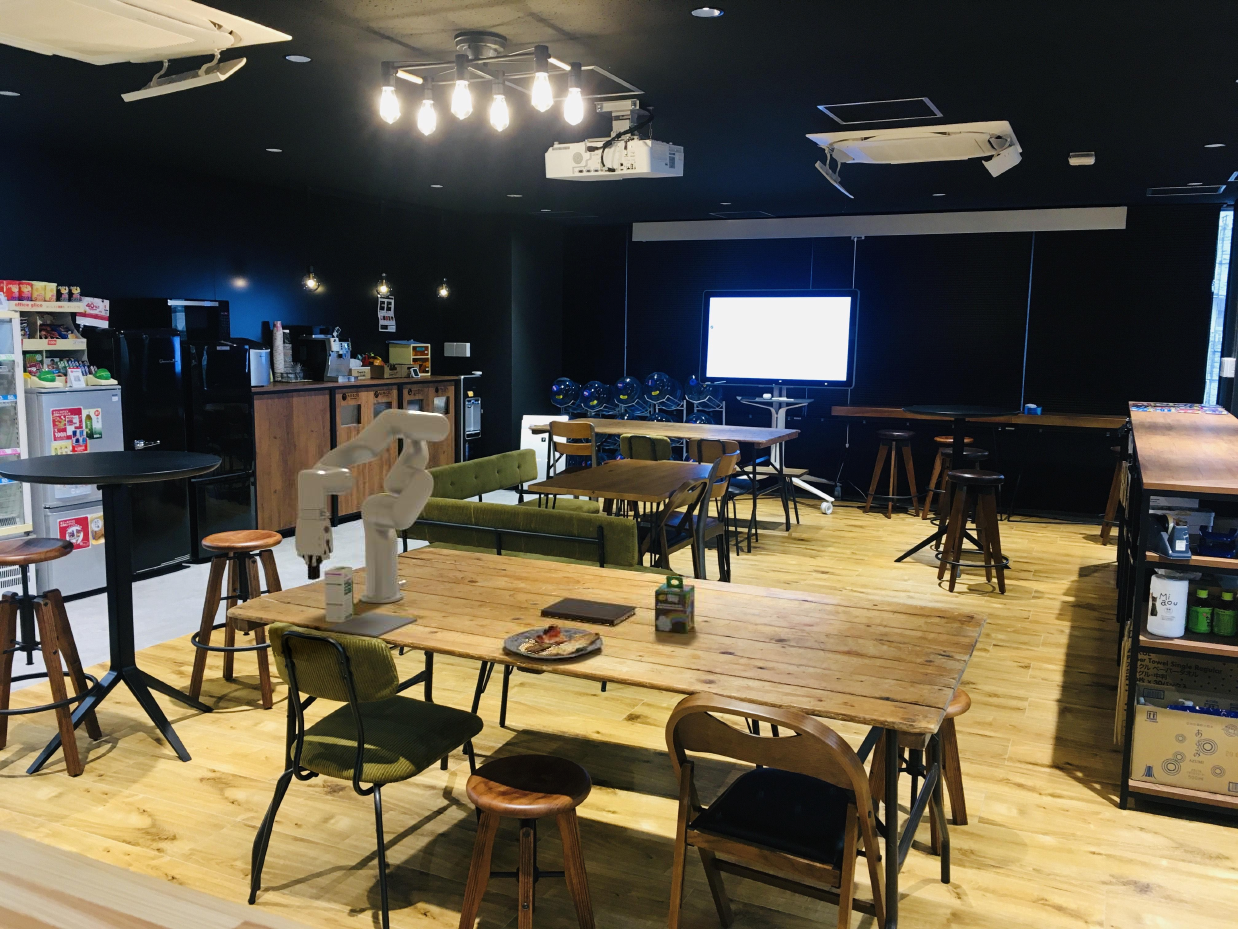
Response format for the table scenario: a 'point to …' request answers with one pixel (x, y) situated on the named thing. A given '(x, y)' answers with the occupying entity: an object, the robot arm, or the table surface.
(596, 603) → the hardcover book
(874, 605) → the table surface
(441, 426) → the robot arm
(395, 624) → the rubber mat
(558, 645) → the food plate
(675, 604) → the chalk box
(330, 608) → the syrup box
